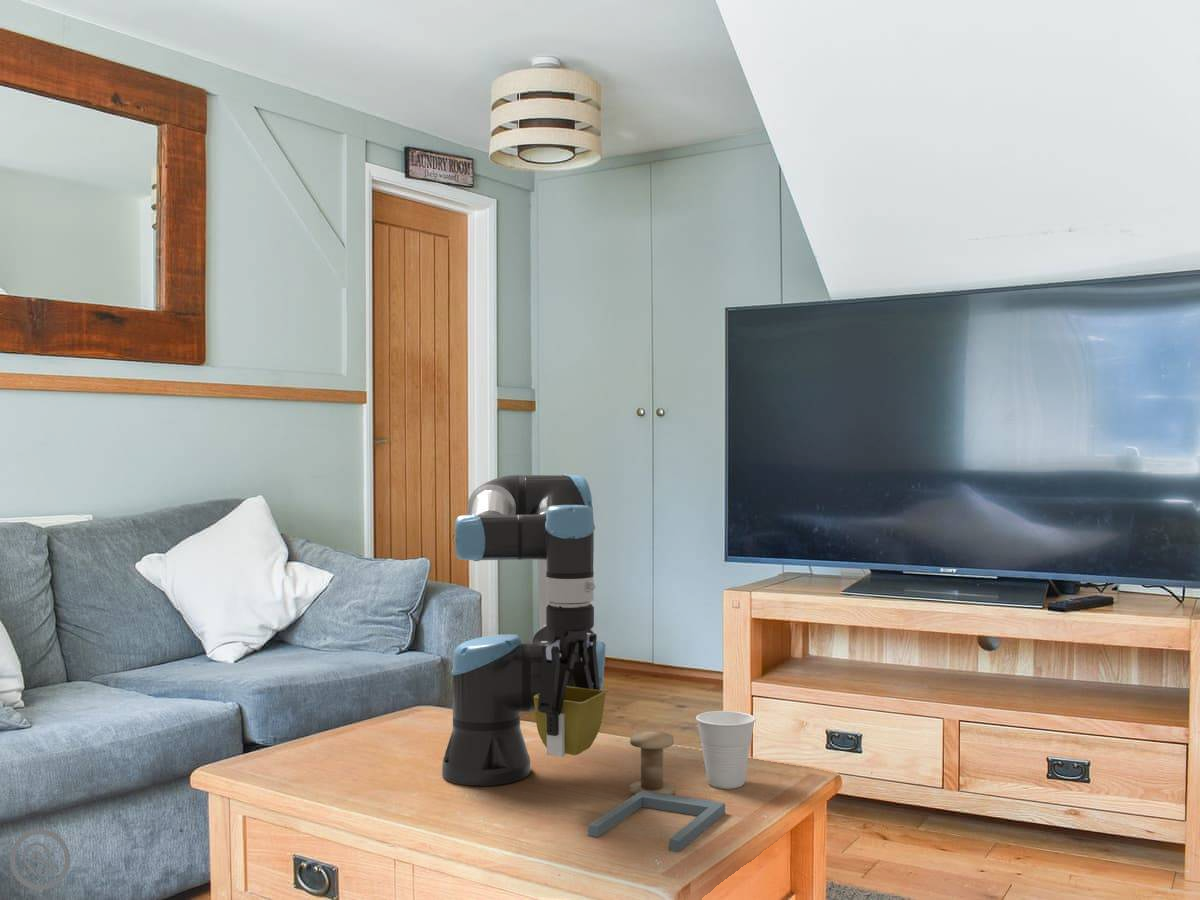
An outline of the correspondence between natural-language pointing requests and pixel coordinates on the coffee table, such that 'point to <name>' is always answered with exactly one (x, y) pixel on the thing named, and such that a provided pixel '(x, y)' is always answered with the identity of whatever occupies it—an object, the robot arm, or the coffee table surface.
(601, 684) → the robot arm
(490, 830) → the coffee table surface
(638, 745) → the bobbin
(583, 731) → the flower pot
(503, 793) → the coffee table surface
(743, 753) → the cup
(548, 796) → the coffee table surface
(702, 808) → the blue-grey u-shaped bracket
